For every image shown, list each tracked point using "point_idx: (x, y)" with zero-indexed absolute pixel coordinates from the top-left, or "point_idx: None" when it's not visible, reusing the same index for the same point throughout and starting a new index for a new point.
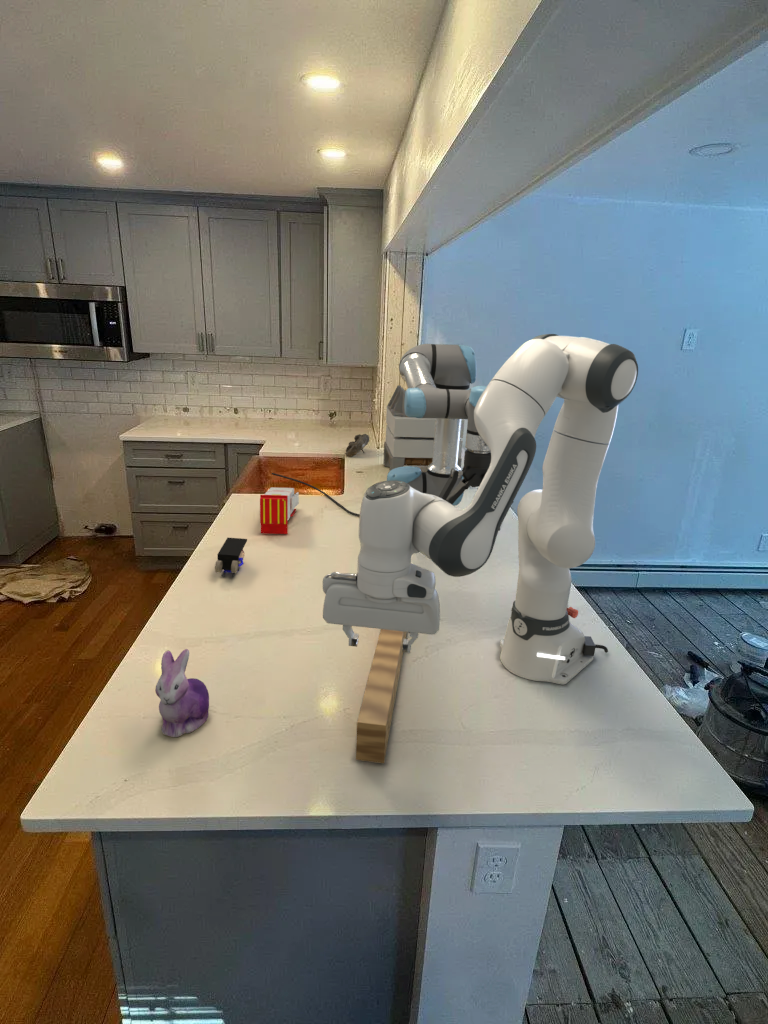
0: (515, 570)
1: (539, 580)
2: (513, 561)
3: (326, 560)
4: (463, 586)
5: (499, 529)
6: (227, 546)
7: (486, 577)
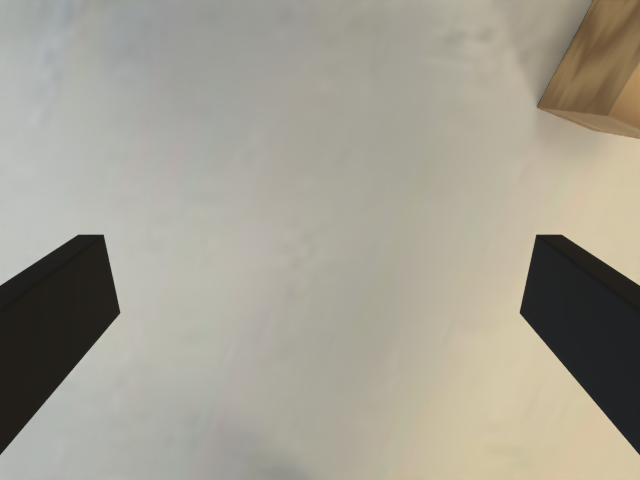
0: None
1: None
2: (69, 388)
3: (633, 449)
4: (286, 258)
5: (77, 238)
6: None
7: (190, 304)
